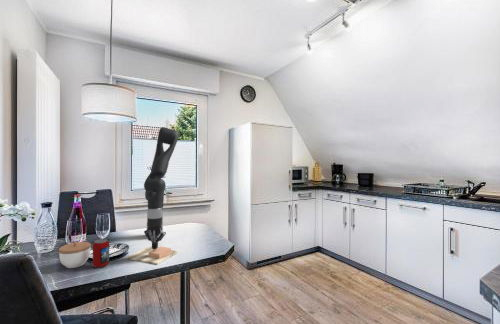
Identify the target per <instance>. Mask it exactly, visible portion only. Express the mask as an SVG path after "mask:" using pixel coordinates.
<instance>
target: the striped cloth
mask: <svg viewBox="0 0 500 324" xmlns="http://www.w3.org/2000/svg"><path fill="white" fill-rule="evenodd" d="M152 250H154V249H152V246H147V247H145V248H143V249H141V250H138V251H136V252H134V253H132V254H130V255H127V256H126V257H125V259H126V260H132V261H138V262H141V263H148V264H152V265H157V266H158V265H160V264H161V263H163V262H164V261H166V260H168V259H170V258H172V257H173V256H175V255H176V253H177V254H178V253H179V251H178V250H173V249H171V252H170V253H169V254H167V255H165V256H163V257H161V258H160V259H159V258H153V257H149V252H150V251H152Z"/></svg>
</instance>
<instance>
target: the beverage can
mask: <svg viewBox="0 0 500 324" xmlns="http://www.w3.org/2000/svg"><path fill="white" fill-rule="evenodd" d="M109 263H110V242H109V240H108V239H107V238H98V239H95V240H94V242H93V244H92V266H93V267H95V268H104V267H105V266H107V265H108V264H109Z"/></svg>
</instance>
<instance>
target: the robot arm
mask: <svg viewBox="0 0 500 324" xmlns="http://www.w3.org/2000/svg"><path fill="white" fill-rule="evenodd" d="M179 134H180V133H179V131H178V130H176V129H172V128H169V127H165V126H162V127H160V128H159V131H158V135H157V140H156V148H155V153H154V156H153V160H152V165H151V169H150V173H149V174H148V176H147V177H146V178H145V181H144V183H143V189H144V190H145V193H144V197H145V200H146V201H147V212H146V217H147V219H146V229H145V230H144V231H143V233H144V235H145V236H146V238H147V240H148V242H150V243H151V247H152V249H154V250H155V249H157V248H158V247H159V242H161V241H162V240H163V238H164V237H165V236H166V234H167V233H166V231H164V225H163V224H164V197H165V190H166V187H167V185H166V182H165V180H164V179H163V178H164V177H165V176H166V174H167V171H168V168H169V164H170V163H169V162H170V160H171V157H172V155H173V152H174V150H175V148H176V146H177V143H178V141H179ZM164 144H165V145H169V147H168V148H167V149H166V150H165V149H164Z"/></svg>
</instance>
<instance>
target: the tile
mask: <svg viewBox="0 0 500 324" xmlns="http://www.w3.org/2000/svg"><path fill="white" fill-rule="evenodd" d="M171 250H172V248H171V247H166V246H161V245H160V246H158V248H157V249H155V250H152V251H150V252H149V257H153V258H159V259H160V258H161V257H163V256H165V255H167V254H169V253H170V252H171Z"/></svg>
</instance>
